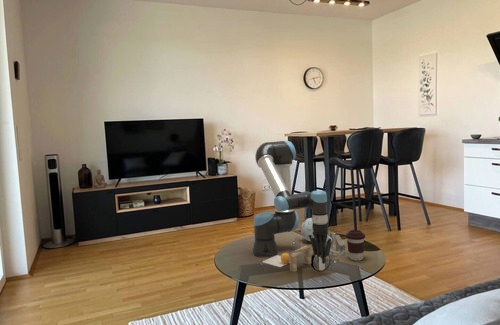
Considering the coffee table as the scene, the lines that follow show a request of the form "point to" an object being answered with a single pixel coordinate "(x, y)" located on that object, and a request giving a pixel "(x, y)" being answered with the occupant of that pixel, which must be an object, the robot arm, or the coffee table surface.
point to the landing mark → (275, 261)
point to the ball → (285, 258)
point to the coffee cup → (355, 244)
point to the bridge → (293, 254)
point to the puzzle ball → (307, 229)
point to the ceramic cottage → (336, 245)
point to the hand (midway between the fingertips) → (322, 269)
